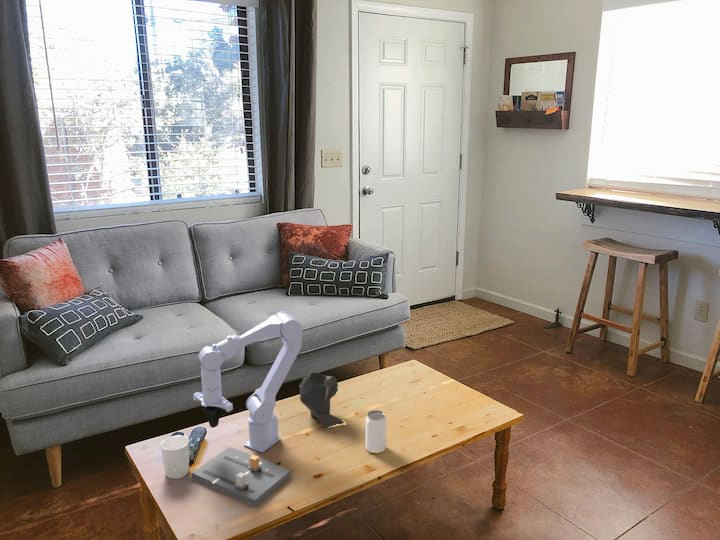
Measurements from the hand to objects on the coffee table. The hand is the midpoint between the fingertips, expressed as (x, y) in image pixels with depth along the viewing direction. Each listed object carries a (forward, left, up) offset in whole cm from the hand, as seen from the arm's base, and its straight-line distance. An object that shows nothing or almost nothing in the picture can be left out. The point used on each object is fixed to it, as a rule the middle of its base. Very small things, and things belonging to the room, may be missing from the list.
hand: (214, 425), depth 182 cm
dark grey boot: (-36, +15, -10) cm, 40 cm away
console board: (+5, +15, -10) cm, 19 cm away
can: (-29, +41, -10) cm, 51 cm away
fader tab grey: (+11, +20, -7) cm, 24 cm away
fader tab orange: (+2, +18, -8) cm, 19 cm away
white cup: (+13, -3, -10) cm, 17 cm away
